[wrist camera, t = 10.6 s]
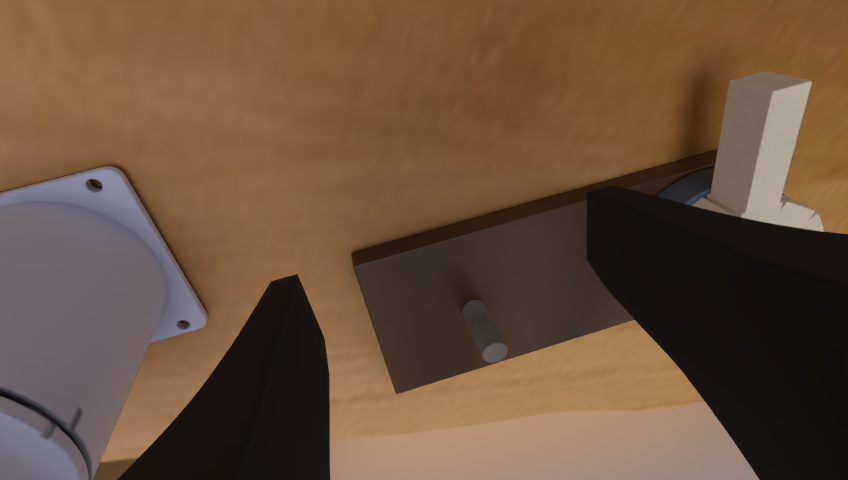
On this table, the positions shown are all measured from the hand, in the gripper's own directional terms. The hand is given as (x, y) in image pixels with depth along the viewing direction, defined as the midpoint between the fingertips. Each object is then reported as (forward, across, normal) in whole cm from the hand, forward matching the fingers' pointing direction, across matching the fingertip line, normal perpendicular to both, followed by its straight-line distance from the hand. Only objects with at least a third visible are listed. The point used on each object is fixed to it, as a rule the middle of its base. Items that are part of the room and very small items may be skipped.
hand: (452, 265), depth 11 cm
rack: (+9, -8, +9) cm, 15 cm away
